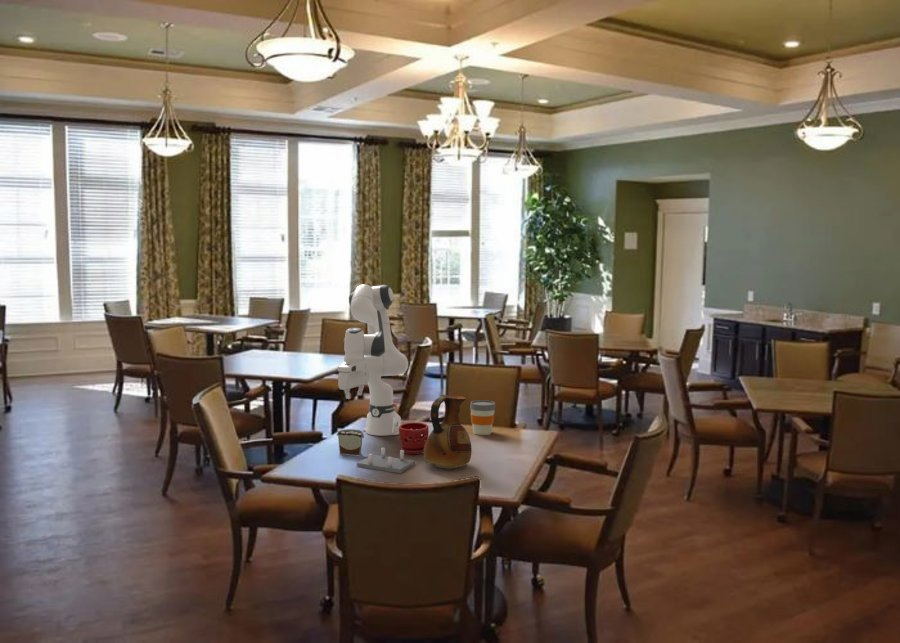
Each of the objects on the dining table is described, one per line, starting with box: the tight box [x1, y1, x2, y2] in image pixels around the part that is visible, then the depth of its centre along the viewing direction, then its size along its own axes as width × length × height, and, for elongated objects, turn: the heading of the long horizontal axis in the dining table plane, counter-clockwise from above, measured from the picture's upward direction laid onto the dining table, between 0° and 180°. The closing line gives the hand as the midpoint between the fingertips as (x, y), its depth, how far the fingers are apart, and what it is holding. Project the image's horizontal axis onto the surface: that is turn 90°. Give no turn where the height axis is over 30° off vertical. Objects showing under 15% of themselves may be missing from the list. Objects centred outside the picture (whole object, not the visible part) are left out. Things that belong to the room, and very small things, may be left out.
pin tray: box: [356, 447, 416, 474], centre depth 323 cm, size 14×20×6 cm
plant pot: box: [398, 422, 430, 455], centre depth 345 cm, size 13×13×12 cm
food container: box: [336, 428, 365, 457], centre depth 341 cm, size 12×6×10 cm, turn 74°
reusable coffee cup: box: [469, 399, 496, 436], centre depth 382 cm, size 13×13×15 cm
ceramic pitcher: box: [423, 394, 473, 470], centre depth 323 cm, size 20×20×30 cm
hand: (354, 396), depth 338 cm, fingers open, 8 cm apart
